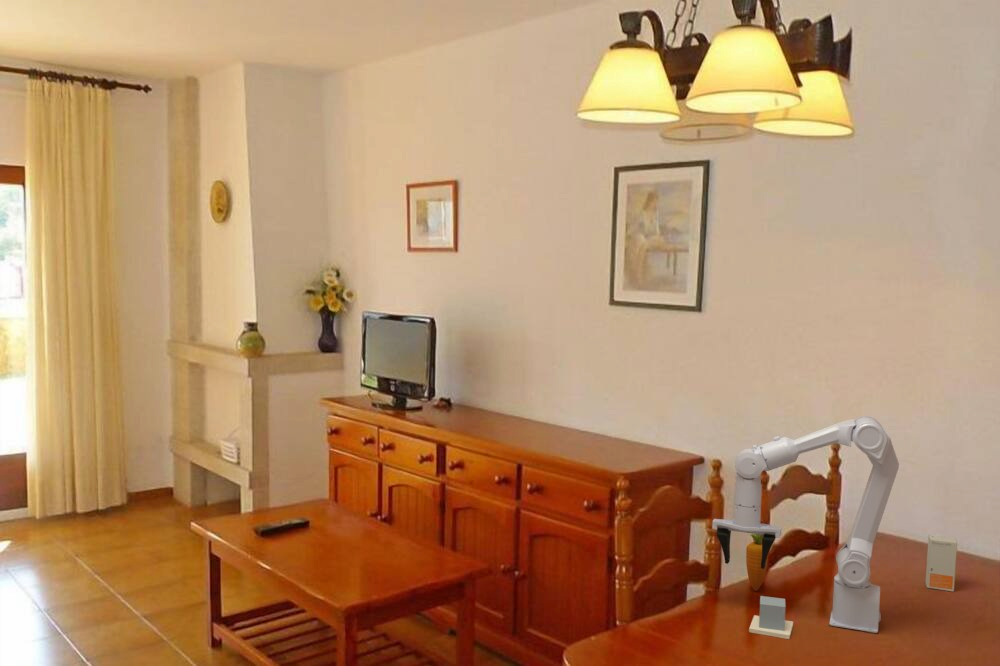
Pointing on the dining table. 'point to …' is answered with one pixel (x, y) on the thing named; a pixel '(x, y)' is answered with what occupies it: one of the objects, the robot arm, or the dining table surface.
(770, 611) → the cube
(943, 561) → the skincare box
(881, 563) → the dining table surface
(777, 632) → the coaster
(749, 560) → the carrot
